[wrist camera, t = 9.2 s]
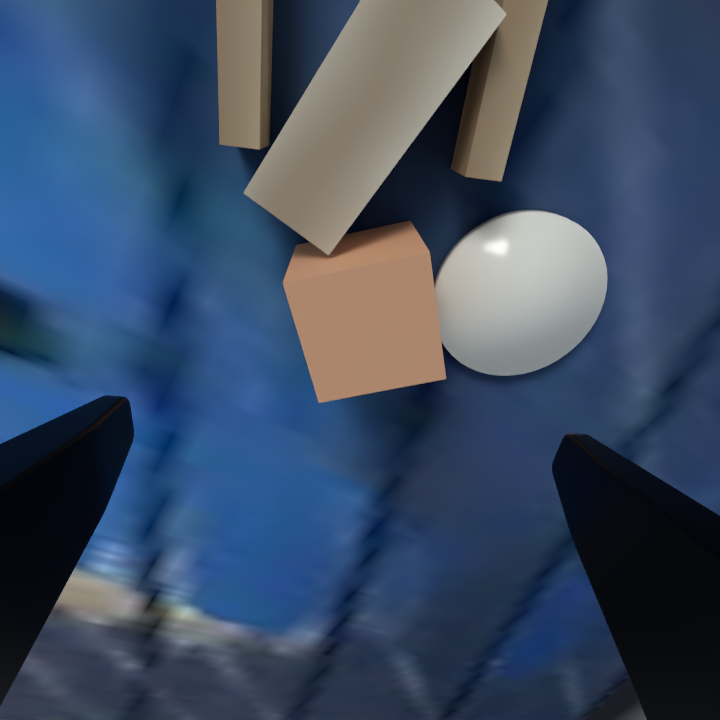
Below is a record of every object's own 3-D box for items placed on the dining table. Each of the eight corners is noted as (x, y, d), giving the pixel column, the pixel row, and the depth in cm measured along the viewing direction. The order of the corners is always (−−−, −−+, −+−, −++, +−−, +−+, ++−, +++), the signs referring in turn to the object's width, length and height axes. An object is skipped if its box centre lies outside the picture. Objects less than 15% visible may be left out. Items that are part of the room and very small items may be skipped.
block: (410, 219, 17) (429, 252, 13) (425, 324, 19) (446, 378, 15) (296, 244, 18) (282, 282, 14) (323, 344, 20) (318, 403, 16)
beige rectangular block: (476, 33, 15) (506, 14, 12) (331, 232, 17) (328, 255, 15) (400, -46, 14) (414, -88, 11) (260, 179, 16) (243, 193, 14)
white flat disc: (627, 221, 17) (636, 224, 17) (565, 375, 21) (571, 382, 20) (451, 198, 17) (455, 201, 16) (416, 361, 20) (418, 368, 20)
